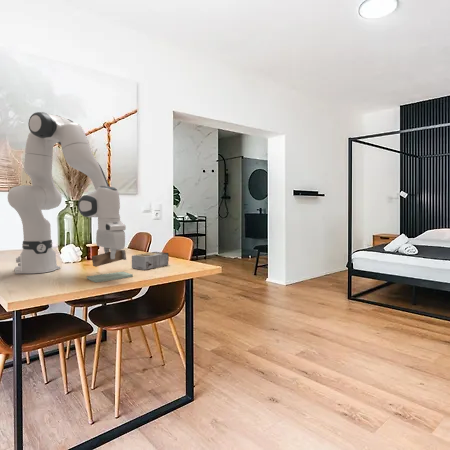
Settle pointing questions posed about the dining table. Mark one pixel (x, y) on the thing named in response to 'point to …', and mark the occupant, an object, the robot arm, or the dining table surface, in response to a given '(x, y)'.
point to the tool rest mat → (109, 276)
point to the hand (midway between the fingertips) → (110, 258)
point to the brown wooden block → (105, 259)
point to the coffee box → (150, 260)
